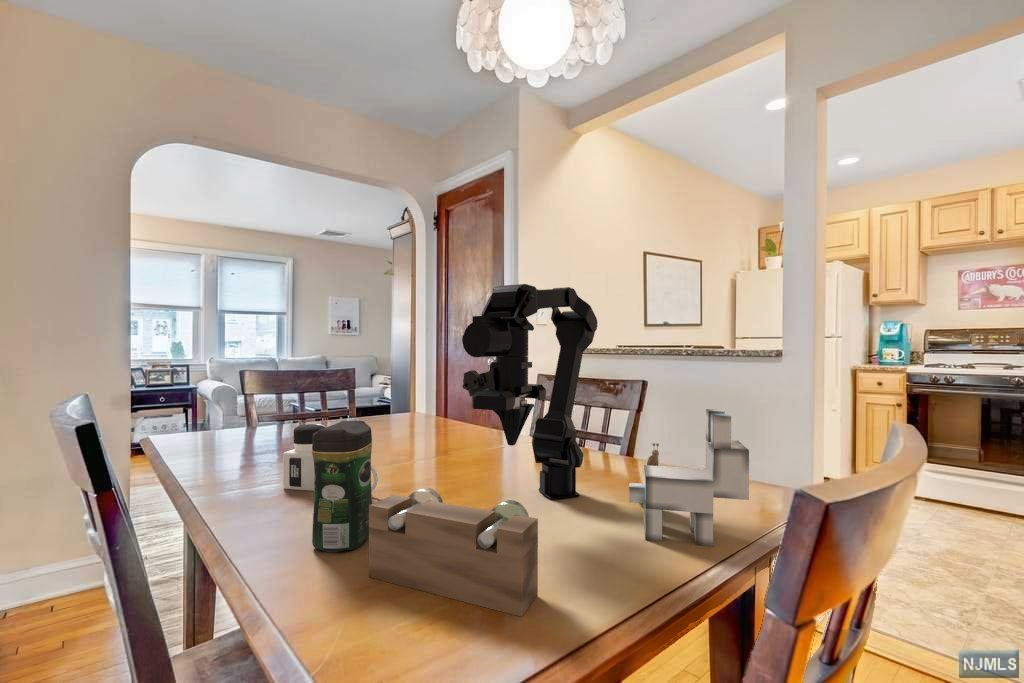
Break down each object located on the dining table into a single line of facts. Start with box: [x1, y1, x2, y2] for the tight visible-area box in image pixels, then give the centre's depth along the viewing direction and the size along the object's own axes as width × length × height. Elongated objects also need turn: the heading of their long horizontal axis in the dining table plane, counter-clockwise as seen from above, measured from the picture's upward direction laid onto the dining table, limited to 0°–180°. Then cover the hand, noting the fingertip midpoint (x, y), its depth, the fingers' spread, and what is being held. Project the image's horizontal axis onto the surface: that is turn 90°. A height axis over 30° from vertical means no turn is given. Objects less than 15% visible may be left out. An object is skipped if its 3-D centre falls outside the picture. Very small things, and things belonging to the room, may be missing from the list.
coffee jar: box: [311, 420, 373, 553], centre depth 77 cm, size 10×8×19 cm
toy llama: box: [628, 408, 750, 547], centre depth 80 cm, size 8×18×20 cm, turn 77°
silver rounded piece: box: [388, 487, 444, 531], centre depth 66 cm, size 8×5×5 cm, turn 155°
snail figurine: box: [638, 442, 660, 510], centre depth 91 cm, size 5×6×12 cm
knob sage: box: [477, 499, 530, 549], centre depth 61 cm, size 8×5×5 cm, turn 155°
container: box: [282, 423, 327, 492], centre depth 106 cm, size 8×8×13 cm
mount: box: [368, 494, 539, 617], centre depth 63 cm, size 5×22×10 cm, turn 65°
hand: (511, 445), depth 86 cm, fingers closed
